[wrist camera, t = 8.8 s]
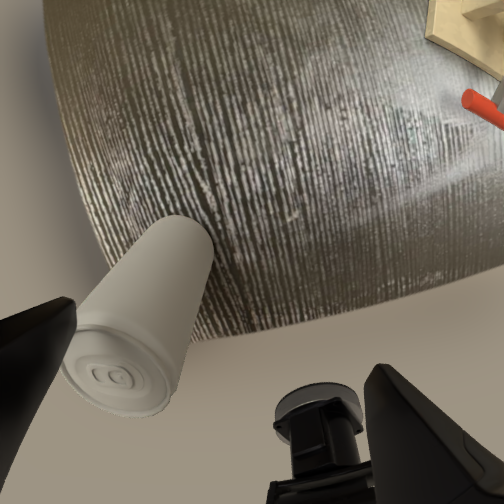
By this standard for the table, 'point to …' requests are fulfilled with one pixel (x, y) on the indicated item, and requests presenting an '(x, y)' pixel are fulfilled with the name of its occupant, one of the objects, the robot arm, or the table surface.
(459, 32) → the bracket
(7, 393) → the robot arm
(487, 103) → the lever
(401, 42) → the table surface
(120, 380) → the beverage can
